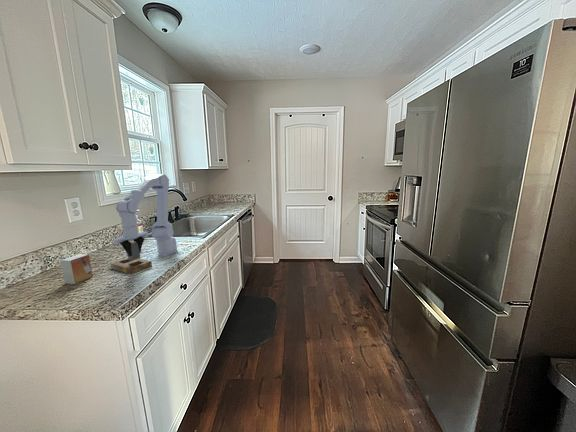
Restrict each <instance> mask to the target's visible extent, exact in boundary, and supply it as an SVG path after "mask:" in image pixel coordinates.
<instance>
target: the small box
mask: <svg viewBox="0 0 576 432" xmlns="http://www.w3.org/2000/svg"><path fill="white" fill-rule="evenodd" d="M59 262H60V263H59V264H60V268H61V272H62V277H63V282H64V284H69V285H76V284H78V283H81V282H83V281H85V280H88V279H90V278H92V277H94V276H93V269H92V263H91V260H90V254H86V253H85V254H83V253H79V254H78V253H77V254H76V255H73V256H70V257H66V258H64V259H60V260H59Z"/></svg>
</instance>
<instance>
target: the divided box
mask: <svg viewBox="0 0 576 432" xmlns="http://www.w3.org/2000/svg"><path fill="white" fill-rule="evenodd" d="M151 268H153V264H152V260H147V259H143V258H139V259H136V260H129V259H128V257H127V258H124V259H120V260H117V261H114V262H111V263H110V269H112V270H115V271H119V272H122V273H125V274H129V275H130V276H132V275H135V274H138V273H140V272H143V271H146V270H148V269H151Z"/></svg>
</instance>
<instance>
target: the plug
mask: <svg viewBox="0 0 576 432" xmlns="http://www.w3.org/2000/svg"><path fill="white" fill-rule="evenodd" d="M130 242H131V251H132V256H128V255H127V258H128V259H129V260H136V259H139V258H140V257H141V253H140V252H139V246H138V243H136V242H134V240H133V241H132V240H131V241H130ZM140 259H141V258H140Z"/></svg>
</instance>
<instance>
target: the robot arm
mask: <svg viewBox="0 0 576 432" xmlns="http://www.w3.org/2000/svg"><path fill="white" fill-rule="evenodd" d="M169 181H170V180H169V177H168V175H166V174H164V173H161V174H160V173H159V174H147V175H145V177H143V182H142V183H141V185H140V186H139V187H138V188H137V189H132V190H130V193H129V194H128V195H127V196H125V197H124V199H123V200H119V201H117V204H116V206H115V211H117V213H118V215H119V217H120V218H121V219H120V220H121V225H122V232H123V235H122V236H120V237H117V238H113V244H114V245H118V244H119V245H121V246H122V248H123V249H124V251H125V252H126V255H127V257H128V256H132V251H131V242H132V240H133V241H134V242H136V243H138V246H139V252H140V254H141V252H142V247H143V243H144V241H145V237H149V232H148V231H142V232H139V229H138V228H139V227H138V223H137V221H138V220H137V215H136V212H137V211H138V210H139V205H140V203H142V201H143V200H144V199H145V194H146V193H147V192H149V190H150V189H151V190H153V191H155V193H156V196H157V197H156V198H157V201H156V208H157V209H156V221H155V222H154V223H152V229H151V236H152V238H153V239H154V240H156V249H157V253H155V254H154V256H155V255H156V256H158V257H159V256H160V257H165V256H166V257H167V256H168V255H172V254H175V253H176V252H178V245H177V240H176V238H175V237H174V229H173V224H172V223H171V222H170V221H169V220H168V219H169V216H168V215H169V190H170V189H169V188H170V182H169Z"/></svg>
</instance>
